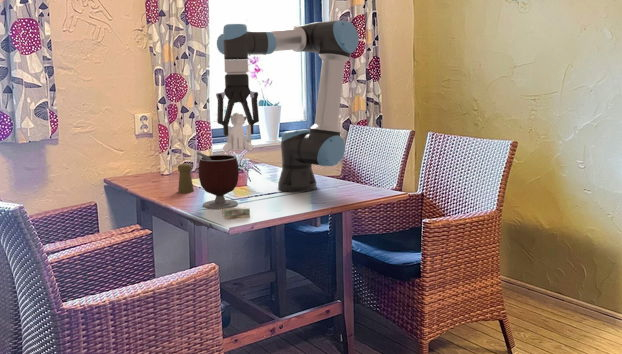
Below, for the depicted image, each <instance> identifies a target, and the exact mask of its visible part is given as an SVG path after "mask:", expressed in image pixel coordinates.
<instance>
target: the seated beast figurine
mask: <svg viewBox="0 0 622 354" xmlns="http://www.w3.org/2000/svg"><path fill="white" fill-rule="evenodd" d="M246 120H247V116H246V115H244V113H243V114H242V112H241V113H240V112H235V113H233V114H231V117H230V123H231V124H232V126H231V143H227V142H226V143H225V144H224V146H223V147H222V149H223V151H224V152H232V151H249V152H251V151H252V150H253V148H254V146H253V145H252V142H251V143H250V142H247V140H246V133H245V132H246V131H245V129H244V127H243V126H244V125H245V123H246V122H245V121H246Z"/></svg>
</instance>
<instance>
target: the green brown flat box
mask: <svg viewBox="0 0 622 354" xmlns="http://www.w3.org/2000/svg"><path fill="white" fill-rule="evenodd" d="M250 209H251V208H250V207H246V206H243V207H241V206H240V207H239V206H238V207H233V208H225V209H221V212H222V215H223V217H225V218H224V219H227V220H237V219H250V218H251V212H250Z"/></svg>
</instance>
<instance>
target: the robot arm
mask: <svg viewBox="0 0 622 354" xmlns="http://www.w3.org/2000/svg"><path fill="white" fill-rule="evenodd" d="M222 30H223V32H222V33H221V34H220V35H219V36H218V37H217V40H216V49H217V50H218V52H219V53H221V55H223V58H224V60H223V61H224V73H226V74H225V75H224V86H225V88H224V90H223V91H222V92H220V93H219V92H217V93H216V94H215V96H216V99H217V119H216V120H217V121H216V122H217V124H218V125H221V126H222V127H223V136H224V137H226V143H231V128H232V126H231V125H229V124H230V121H231V118H230V117H231V115H232V112H233V108H234V106H235V104H237V103H240V104H241V106H242V108H243V113H244V114H245V115H244V116H245V117H246V116H247V118H246V120H247V123H248V124H245V132H246V133H245V138H246V140H247V142H250V143H251V144H252V135H254V125H255V124H257V123H259V121H260V117H259V116H260V115H259V106H258V96H259V92H258V91H251V89H250V86H249V84H250V83H249V81H250V80H249V75H248V72H249V55H250V56H251V55H253V56H254V55H256V56H257V55H264V56H266V55H272V54H273V53H274V52H283V51H291V50H292V51H293V52H296V53H299V52H301V53H302V52H305V53H315V54H316V53H317V54H318V56H319V58H320V59H321V70H320V77H319V85H318V94H317V103H316V109H315V110H316V111H315V119H314V124H313V125H312V126H311V127H310V128H302V129H296V130H288V131H287V130H286V131H284V132H283V133H282V134H281V141H280V147H281V149H280V150H281V165H282V166H281V172H280V175H279V179H278V183H277V184H278V185H277V186H278V190H279V191H284V192H291V193H296V192H297V193H299V192H309V191H313V190H316V189H317V180H316V177H315V174H314V171H313V167H312V166H313V165H315V166H321V167H334V166H336V165H338V164H339V162H341V161H342V159H343V158H344V155H345V154H346V143H345V140H344V138H343V137H341V133H342V132H341V130H340V129H339V127H338V124H339V117H340V116H339V115H340V107H341V100H342V99H341V98H342V91H343V82H344V77H345V76H344V75H345V67H346V63H347V62H348V61H349V60H350V59H351V53H354V52H355V51H356V49H357V48H358V46H359V42H360V41H359V39H360V38H359V34H358V30H357V29H356V27H355V25H354V24H353V23H352V22H350V21H348V20H339V19H338V20H331V21H329V20H328V21H316V22H311V23H308V24H302V25H295V26H292V27H291V28H287V29H286V28H285V29H272V30H271V29H270V30H252V31H251V30H248V26H247V24H246V23H244V24H243V23H228V24H225V25H224V26H223V29H222ZM249 95H250V98H251V99H250V100H251V101H250V102H251V109H250V107H249V103H248V97H249ZM225 97H226V98H227V100H228V101H227V106H226V109H225V115H224V99H225ZM251 112H252V113H251Z"/></svg>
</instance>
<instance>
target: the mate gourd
mask: <svg viewBox="0 0 622 354" xmlns="http://www.w3.org/2000/svg"><path fill="white" fill-rule="evenodd" d="M196 155H198V156H201V157H199V161H198V178H199V182H200V187H202V189H203V190H204V191H205V192H206V193H208V194H211V195H213V196H215V199H213V200H207V201H205V202H203V203H202V208H204V209H206V208H207V210H222V209H225V208H237V206H238V204H239V203H238V201H236V200H233V199H226V198H225V195H227V194H228V193H231V192H233V191H234V190H235V188H236V187H237V185H238V183H239V164H238V159H237V156H236V155H233V154H213V155H211V154H210V155H207V154H205V153H202V152H196Z"/></svg>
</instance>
